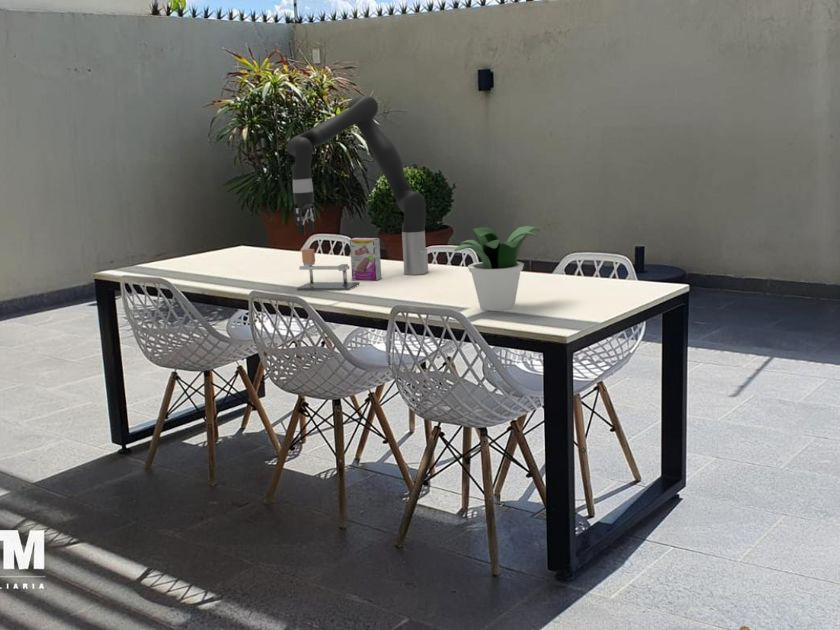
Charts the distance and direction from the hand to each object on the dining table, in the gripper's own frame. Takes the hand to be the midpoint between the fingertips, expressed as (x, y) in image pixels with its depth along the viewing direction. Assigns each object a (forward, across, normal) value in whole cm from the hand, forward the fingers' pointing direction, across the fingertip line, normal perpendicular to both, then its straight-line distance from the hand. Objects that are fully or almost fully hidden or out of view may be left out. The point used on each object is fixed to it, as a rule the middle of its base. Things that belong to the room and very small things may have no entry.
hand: (306, 233), depth 374 cm
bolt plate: (+21, +1, -7) cm, 22 cm away
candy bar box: (+22, +19, -16) cm, 33 cm away
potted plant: (+22, -31, -82) cm, 90 cm away
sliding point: (+20, 0, 0) cm, 20 cm away
